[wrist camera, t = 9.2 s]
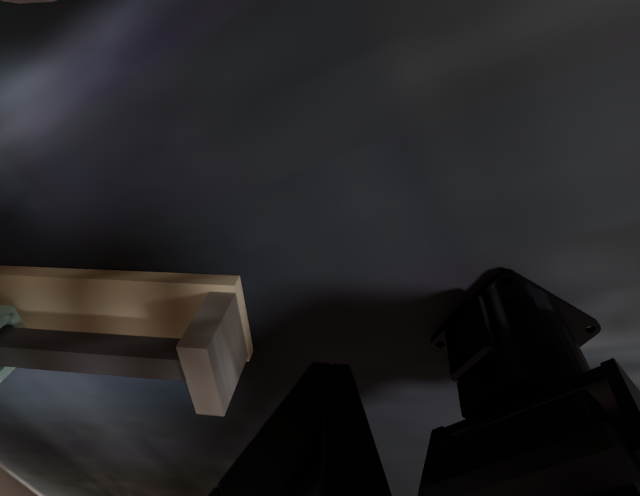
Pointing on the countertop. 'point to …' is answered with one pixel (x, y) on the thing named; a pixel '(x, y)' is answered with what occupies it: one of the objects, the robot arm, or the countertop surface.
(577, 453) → the robot arm
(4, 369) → the grey-green notched block
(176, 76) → the countertop surface
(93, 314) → the brown long grooved piece
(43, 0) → the food container
